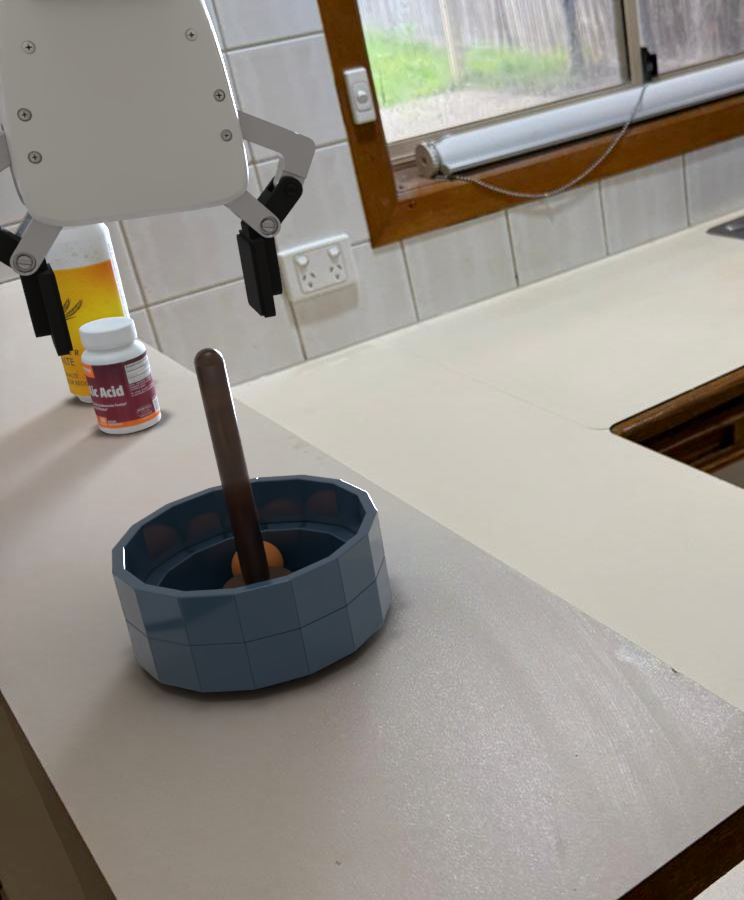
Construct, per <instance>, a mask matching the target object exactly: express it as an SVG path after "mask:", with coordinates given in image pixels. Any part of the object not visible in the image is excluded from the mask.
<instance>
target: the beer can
mask: <svg viewBox="0 0 744 900" xmlns="http://www.w3.org/2000/svg"><path fill="white" fill-rule="evenodd" d="M45 259H46V263H50V265H51V267H52V270H53V272H54V274H55V277H56V281H57V285H58V289H59V293H60V297H61V301H62V305H63V309H64V313H65V317H66V321H67V326H68V330H69V334H70V338H71V342H72V346H73V351H69V353H70V354H69V355H63V356H60V359H61V364H62V368H63V370H64V373H65V374H64V375H65V377H66V382H67V384H68V389H69V392H70V393H71V394H72V395H74V396H76V397H77V398H78V399H79V401H80V402H83V403H86V404H87V403H88V404H93V402H92V399H91V395H90V391H89V387H88V383H87V380H86V376H85V372H84V368H83V364H82V360H81V356H82V353H83V352H84V351H85V350H86V349H87V348H84V347H83V344H82V343H81V338H80V333H79V328H80V327H81V326H82V325H84V324H86V323H89V322H91V321H95V320H99V319H104V318H110V317H128V318H131V316H130V313H129V311H130V310H129V307H128V303H127V299H126V295H125V291H124V287H123V282H122V278H121V275H120V270H119V267H118V263H117V258H116V255H115V250H114V247H113V243H112V238H111V234H110V229H109V228H108V226H107V225H106V224H105V223H99V224H92V225H83V226H73V227H63V228H62V230H61V231H60V233H59V235H58V236H57V238H56V240H55V241H54V243H53V245H52V246H51V248H50V250H49V252H48V253H47V255H46V257H45Z"/></svg>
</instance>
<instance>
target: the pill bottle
mask: <svg viewBox="0 0 744 900" xmlns="http://www.w3.org/2000/svg"><path fill="white" fill-rule="evenodd" d="M79 333H80V338H81V343H82V344H83V347H84V348H87V349H86V350H85V351H84V352H83V353H82V356H81V360H82V364H83V368H84V372H85V376H86V380H87V383H88V387H89V391H90V395H91V399H92V402H93V403H92V406H93V410H94V413H95V417H96V421H97V425H98V428H99V430H100V431H101V432H103V433H106V434H110V435H127V434H133V433H136V432H140V431H143V430H145V429H149V428H150V427H153V426H155V425H156V424H158V423H159V422H160V420H161V418H162V412H161V409H160V405H159V399H158V396H157V391H156V386H155V383H154V378H153V374H152V369H151V366H150V365H151V364H150V361H149V356H148V353H147V351H148V350H147V348H146V346H145V345H144V343H143V342H141V341H140V340H138V339H137V338H138V334H137V333H138V332H137V328H136V325H135V321H134V319H133V318H131V317H130V318H128V317H110V318H104V319H99V320H95V321H91V322H89V323H86V324H84V325H82V326H81V327H80V328H79Z"/></svg>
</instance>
